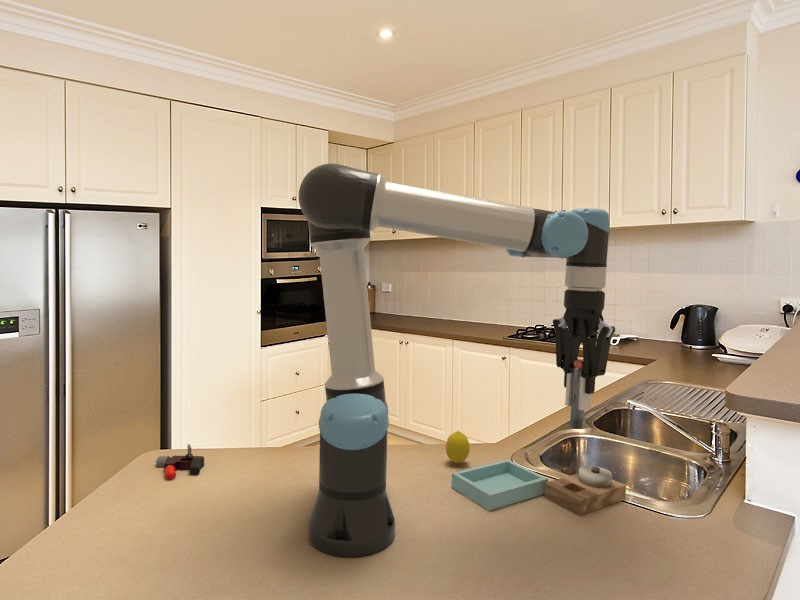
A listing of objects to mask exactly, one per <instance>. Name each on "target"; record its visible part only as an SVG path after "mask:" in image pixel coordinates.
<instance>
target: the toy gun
mask: <svg viewBox="0 0 800 600" xmlns="http://www.w3.org/2000/svg"><path fill="white" fill-rule="evenodd" d="M153 462H154V463H155V464H156V468H163V471H164V474H165V478H166V480H169V481H171V480H174V479H175V478H176V476H177V471H189V475H190V476H199V475H200V472H201V469H203V468H204V467H205V457H204V456H203V455H193V453H192V446H191V444H189V443H188V444H187V453H186V454H185V455H172V456H171V457H170V456H169V455H168V456H167V455H164V456H163V455H159V456H158V457H157V458H156V460H155V461H153Z"/></svg>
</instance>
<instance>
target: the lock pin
mask: <svg viewBox="0 0 800 600" xmlns="http://www.w3.org/2000/svg"><path fill="white" fill-rule="evenodd" d="M583 374H584V364H583V358H582V359H581V358H578V359H574V363H573V380H572V397H571V406H570V417H569V427H570V428H572V429H575V430H582V429H584V428H585V427H584V423H585V410H579V409H578V406H579V389H580V377H582V375H583Z"/></svg>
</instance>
